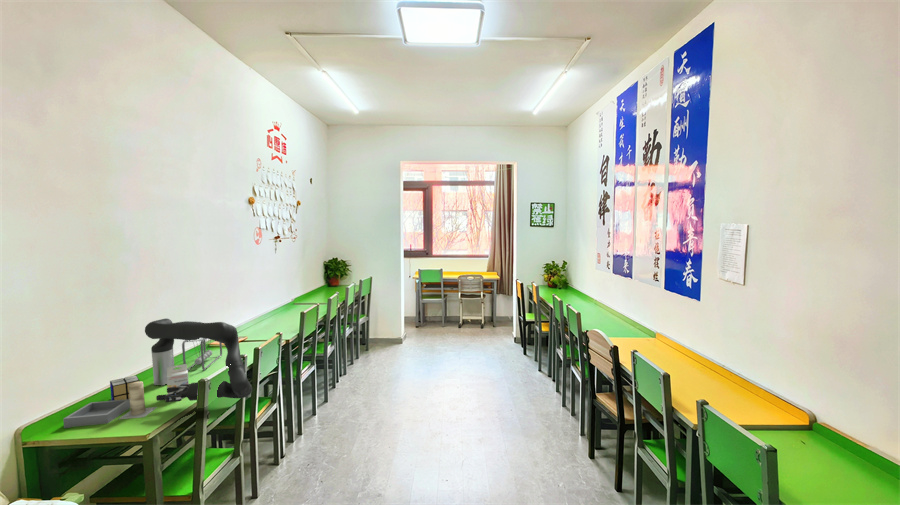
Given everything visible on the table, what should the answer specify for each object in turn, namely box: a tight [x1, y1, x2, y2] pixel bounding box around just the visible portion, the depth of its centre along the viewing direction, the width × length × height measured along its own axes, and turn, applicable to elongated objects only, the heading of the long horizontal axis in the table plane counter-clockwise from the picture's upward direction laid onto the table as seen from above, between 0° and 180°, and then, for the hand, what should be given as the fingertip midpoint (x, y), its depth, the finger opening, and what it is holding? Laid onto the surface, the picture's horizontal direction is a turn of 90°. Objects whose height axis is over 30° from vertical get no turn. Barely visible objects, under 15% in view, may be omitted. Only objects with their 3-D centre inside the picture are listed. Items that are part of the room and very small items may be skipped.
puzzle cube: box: [109, 375, 140, 401], centre depth 194 cm, size 10×10×10 cm
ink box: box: [166, 363, 190, 398], centre depth 196 cm, size 8×5×15 cm, turn 123°
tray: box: [62, 399, 130, 429], centre depth 177 cm, size 16×16×4 cm
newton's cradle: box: [181, 338, 223, 372], centre depth 246 cm, size 30×10×18 cm, turn 11°
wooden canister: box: [129, 380, 146, 416], centre depth 179 cm, size 5×5×13 cm
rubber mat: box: [117, 406, 158, 420], centre depth 179 cm, size 10×10×1 cm
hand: (162, 394), depth 180 cm, fingers open, 8 cm apart
